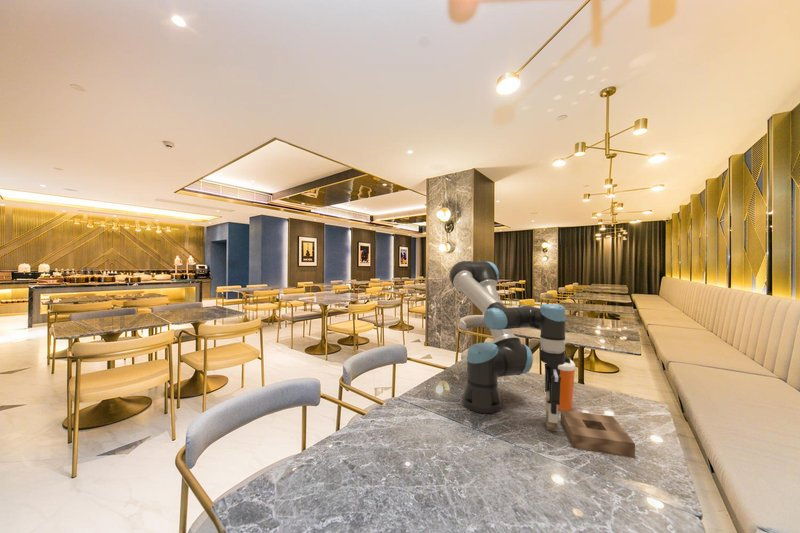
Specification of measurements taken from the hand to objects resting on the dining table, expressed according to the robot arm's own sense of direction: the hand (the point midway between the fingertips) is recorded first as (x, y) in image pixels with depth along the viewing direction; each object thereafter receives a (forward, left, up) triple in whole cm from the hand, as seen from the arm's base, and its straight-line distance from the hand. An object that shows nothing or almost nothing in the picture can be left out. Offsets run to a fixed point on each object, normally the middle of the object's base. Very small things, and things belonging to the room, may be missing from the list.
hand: (551, 419), depth 102 cm
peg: (0, 0, -3) cm, 3 cm away
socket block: (+12, -2, -3) cm, 13 cm away
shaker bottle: (+7, +18, -3) cm, 20 cm away
